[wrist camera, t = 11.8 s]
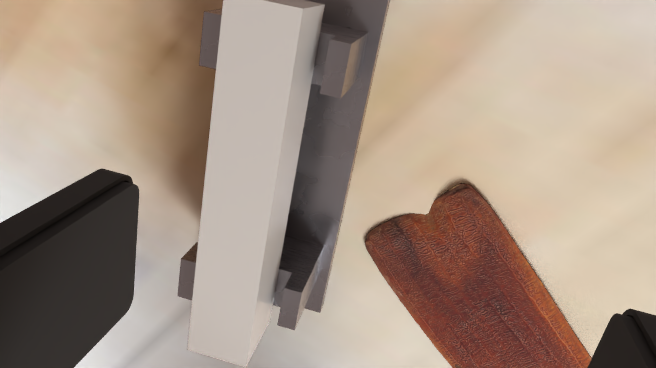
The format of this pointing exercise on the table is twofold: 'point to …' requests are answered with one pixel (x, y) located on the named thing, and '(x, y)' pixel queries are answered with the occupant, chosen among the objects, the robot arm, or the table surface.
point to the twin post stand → (316, 150)
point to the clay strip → (250, 170)
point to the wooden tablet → (473, 287)
